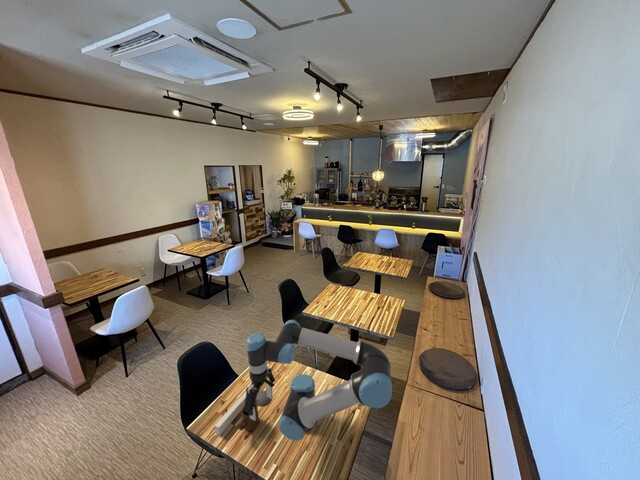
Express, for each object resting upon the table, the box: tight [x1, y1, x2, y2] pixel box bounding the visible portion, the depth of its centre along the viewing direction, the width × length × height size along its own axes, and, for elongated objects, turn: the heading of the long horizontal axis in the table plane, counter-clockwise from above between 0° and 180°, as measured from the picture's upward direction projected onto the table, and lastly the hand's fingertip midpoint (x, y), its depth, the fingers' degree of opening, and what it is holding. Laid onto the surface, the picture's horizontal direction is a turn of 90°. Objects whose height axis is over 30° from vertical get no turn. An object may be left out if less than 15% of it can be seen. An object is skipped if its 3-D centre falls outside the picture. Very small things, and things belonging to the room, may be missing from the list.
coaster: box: [255, 390, 272, 407], centre depth 140 cm, size 9×9×1 cm
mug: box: [238, 404, 260, 431], centre depth 123 cm, size 12×8×9 cm, turn 160°
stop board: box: [214, 391, 246, 436], centre depth 130 cm, size 2×22×5 cm, turn 153°
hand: (261, 407), depth 115 cm, fingers open, 11 cm apart
